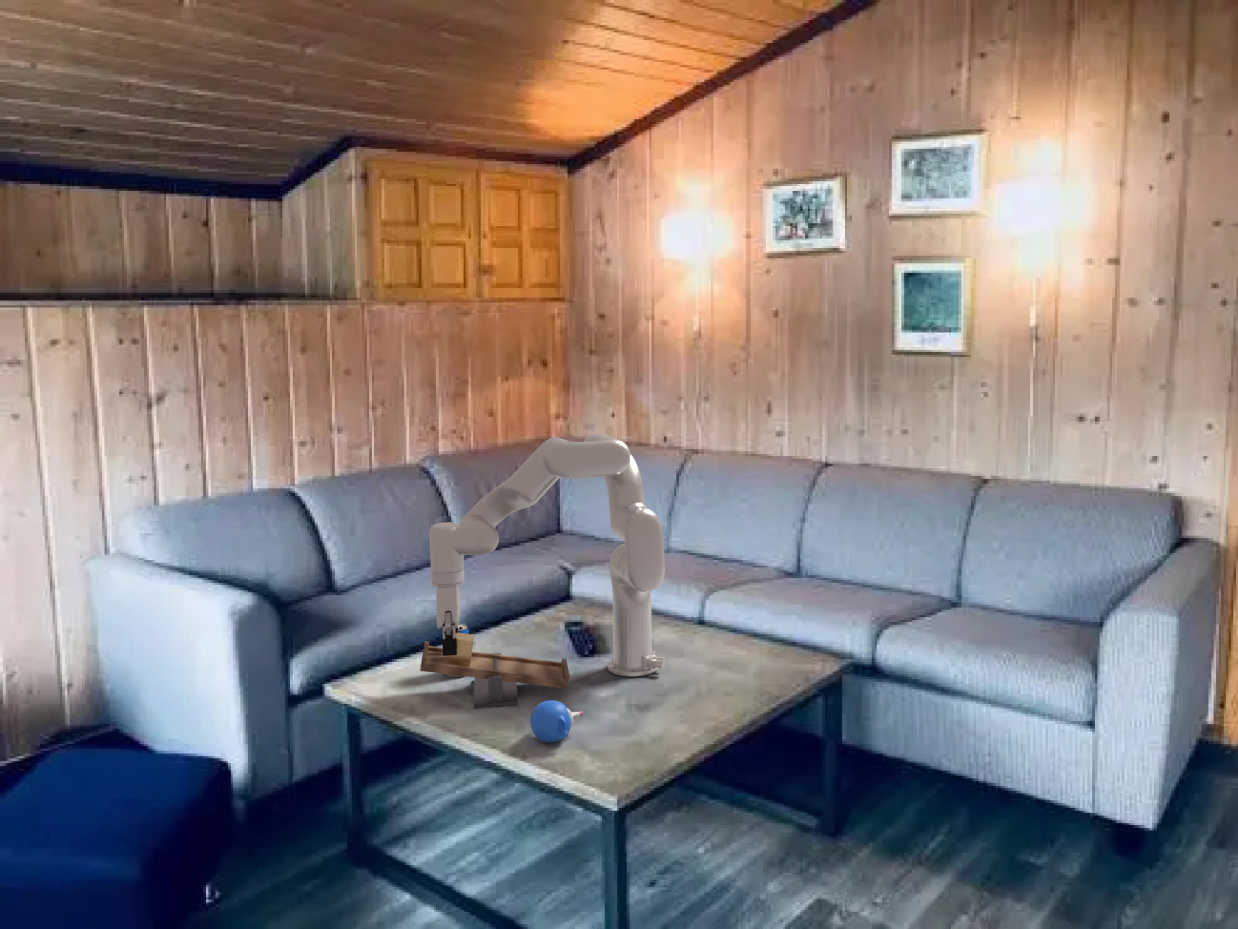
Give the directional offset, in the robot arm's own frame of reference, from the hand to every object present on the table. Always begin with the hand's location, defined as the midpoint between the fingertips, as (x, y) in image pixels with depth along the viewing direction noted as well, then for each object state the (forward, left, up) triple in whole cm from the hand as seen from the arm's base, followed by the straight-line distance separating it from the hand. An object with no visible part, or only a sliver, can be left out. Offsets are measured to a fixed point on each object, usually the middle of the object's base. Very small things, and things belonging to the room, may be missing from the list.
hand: (450, 648), depth 245 cm
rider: (-1, -1, -3) cm, 4 cm away
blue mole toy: (-35, +9, -12) cm, 38 cm away
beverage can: (+8, -12, -12) cm, 18 cm away
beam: (-8, -6, -5) cm, 11 cm away
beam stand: (-8, -6, -11) cm, 15 cm away
